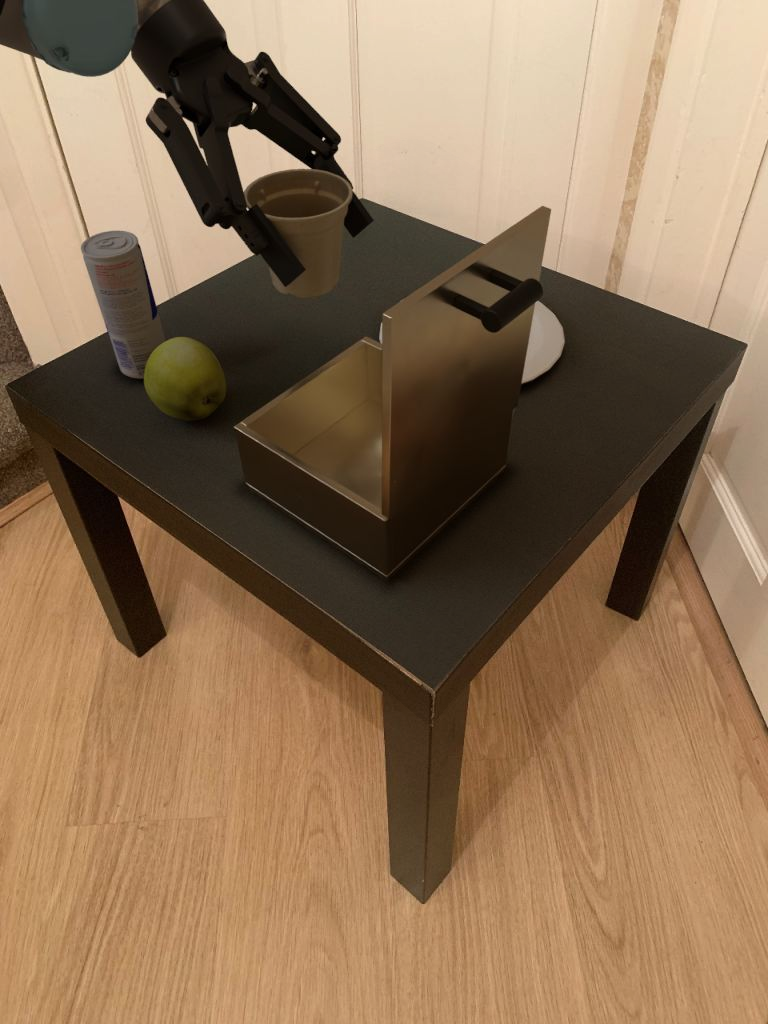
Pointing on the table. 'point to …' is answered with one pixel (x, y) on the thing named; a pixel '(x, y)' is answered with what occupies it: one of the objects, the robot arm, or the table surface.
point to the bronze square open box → (354, 464)
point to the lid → (457, 357)
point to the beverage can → (124, 298)
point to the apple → (184, 379)
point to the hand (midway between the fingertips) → (330, 252)
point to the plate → (539, 343)
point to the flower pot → (306, 223)
